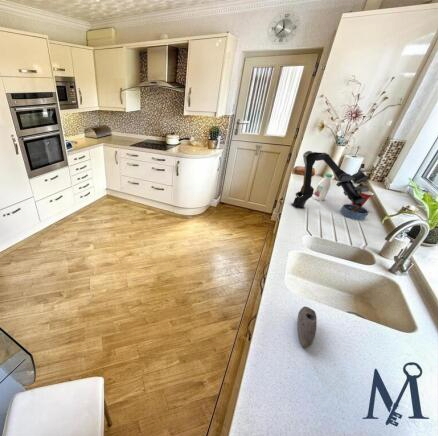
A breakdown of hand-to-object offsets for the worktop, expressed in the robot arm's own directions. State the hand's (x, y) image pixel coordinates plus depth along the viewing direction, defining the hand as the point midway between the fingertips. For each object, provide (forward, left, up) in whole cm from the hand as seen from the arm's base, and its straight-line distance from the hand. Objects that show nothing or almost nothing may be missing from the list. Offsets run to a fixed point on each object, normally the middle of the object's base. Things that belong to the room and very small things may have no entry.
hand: (359, 205), depth 157 cm
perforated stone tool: (-90, -91, -8) cm, 128 cm away
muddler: (-1, 0, -7) cm, 7 cm away
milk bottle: (-9, +25, -8) cm, 28 cm away
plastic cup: (+14, +15, -8) cm, 22 cm away
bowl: (-2, -1, -7) cm, 8 cm away
